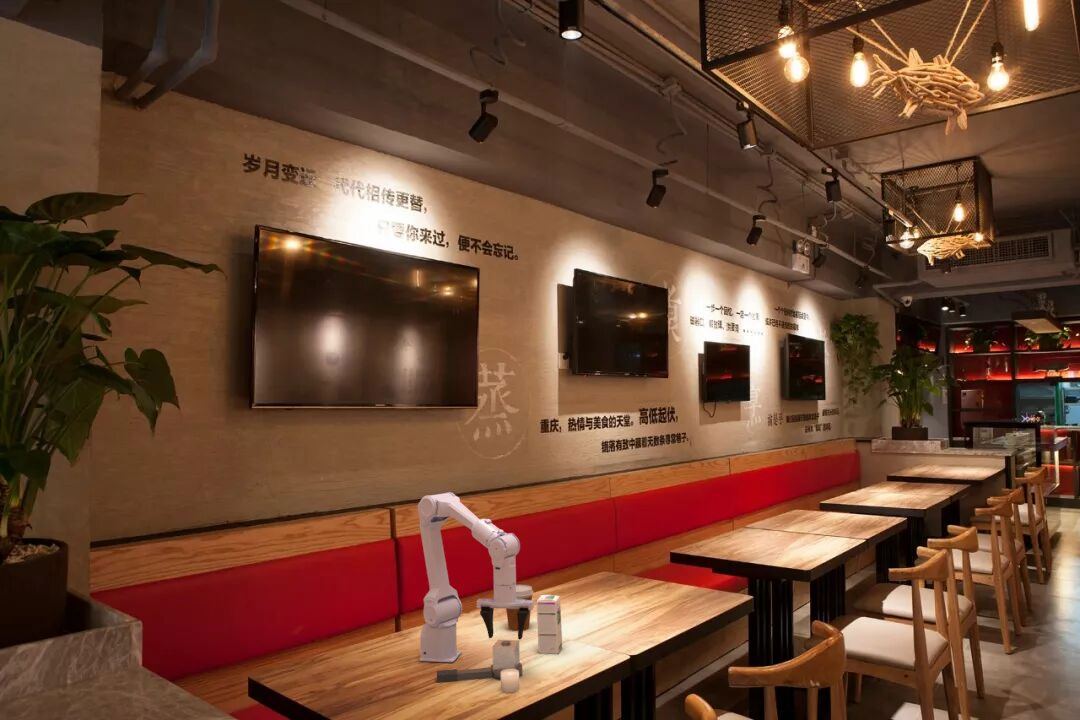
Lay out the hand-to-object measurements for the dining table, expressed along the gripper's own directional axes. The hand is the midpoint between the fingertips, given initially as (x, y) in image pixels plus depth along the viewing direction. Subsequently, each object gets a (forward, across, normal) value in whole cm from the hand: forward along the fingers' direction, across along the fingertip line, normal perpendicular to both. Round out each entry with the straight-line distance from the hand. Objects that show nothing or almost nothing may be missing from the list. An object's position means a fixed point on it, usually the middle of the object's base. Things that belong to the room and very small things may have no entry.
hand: (505, 637), depth 178 cm
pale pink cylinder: (+9, -3, +9) cm, 13 cm away
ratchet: (+9, +6, +2) cm, 11 cm away
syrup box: (+9, -8, -19) cm, 23 cm away
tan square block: (+7, 0, 0) cm, 7 cm away
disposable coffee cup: (+9, +5, -38) cm, 39 cm away
